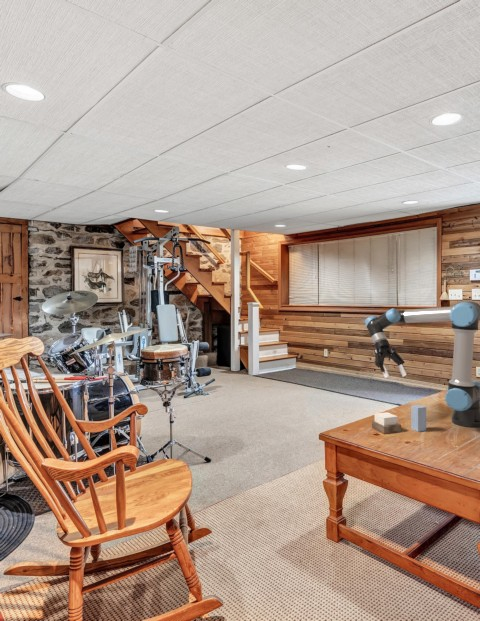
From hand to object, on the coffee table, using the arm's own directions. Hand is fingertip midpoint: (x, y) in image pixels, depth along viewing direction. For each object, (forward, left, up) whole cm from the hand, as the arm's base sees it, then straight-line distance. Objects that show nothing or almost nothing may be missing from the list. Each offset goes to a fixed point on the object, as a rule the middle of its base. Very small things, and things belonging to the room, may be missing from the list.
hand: (396, 376), depth 223 cm
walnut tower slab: (+1, +16, -25) cm, 30 cm away
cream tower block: (+2, +16, -21) cm, 26 cm away
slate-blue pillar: (-13, +8, -25) cm, 29 cm away
